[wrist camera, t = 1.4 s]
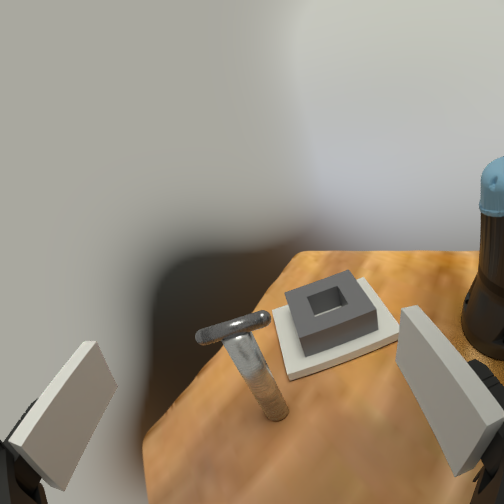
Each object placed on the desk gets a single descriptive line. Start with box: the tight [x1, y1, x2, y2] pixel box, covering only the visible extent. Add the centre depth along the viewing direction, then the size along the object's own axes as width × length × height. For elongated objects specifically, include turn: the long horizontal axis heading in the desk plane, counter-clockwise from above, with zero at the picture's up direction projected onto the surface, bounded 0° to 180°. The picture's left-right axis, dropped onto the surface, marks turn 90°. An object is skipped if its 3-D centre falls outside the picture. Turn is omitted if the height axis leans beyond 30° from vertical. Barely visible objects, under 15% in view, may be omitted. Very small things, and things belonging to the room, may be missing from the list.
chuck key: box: [195, 310, 289, 421], centre depth 31 cm, size 8×3×16 cm, turn 95°
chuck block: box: [272, 270, 400, 381], centre depth 44 cm, size 17×15×6 cm
